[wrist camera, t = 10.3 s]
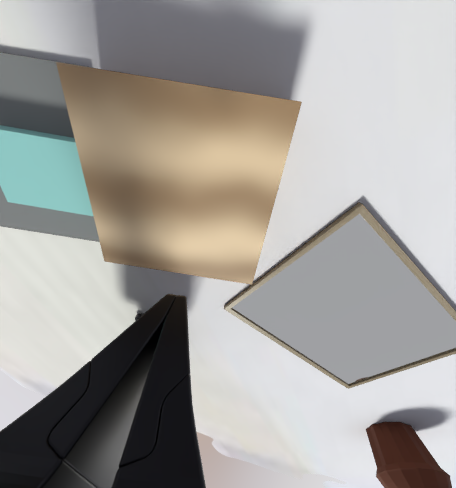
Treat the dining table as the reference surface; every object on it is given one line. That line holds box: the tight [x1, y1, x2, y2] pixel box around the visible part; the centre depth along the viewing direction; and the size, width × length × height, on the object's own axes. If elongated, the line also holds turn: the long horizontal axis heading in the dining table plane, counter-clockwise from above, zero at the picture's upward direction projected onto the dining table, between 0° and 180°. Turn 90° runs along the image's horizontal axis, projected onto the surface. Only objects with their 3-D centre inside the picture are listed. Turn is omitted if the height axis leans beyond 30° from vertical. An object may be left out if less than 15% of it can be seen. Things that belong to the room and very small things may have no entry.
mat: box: [0, 52, 100, 242], centre depth 18 cm, size 15×13×1 cm
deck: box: [56, 62, 302, 284], centre depth 16 cm, size 14×14×4 cm
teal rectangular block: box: [0, 125, 93, 216], centre depth 17 cm, size 6×9×2 cm, turn 82°
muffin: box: [366, 422, 452, 488], centre depth 37 cm, size 12×11×10 cm
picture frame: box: [224, 202, 456, 388], centre depth 25 cm, size 19×1×28 cm
